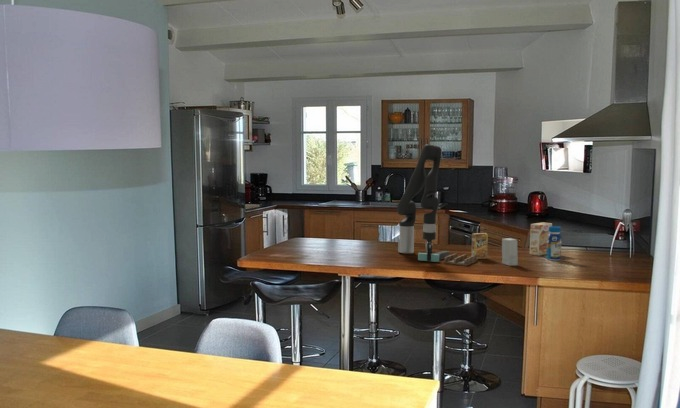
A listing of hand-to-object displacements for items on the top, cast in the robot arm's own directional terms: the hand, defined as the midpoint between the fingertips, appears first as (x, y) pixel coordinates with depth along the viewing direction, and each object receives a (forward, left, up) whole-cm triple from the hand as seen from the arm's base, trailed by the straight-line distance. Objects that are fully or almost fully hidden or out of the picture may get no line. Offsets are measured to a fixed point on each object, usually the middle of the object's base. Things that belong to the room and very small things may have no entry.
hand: (428, 259), depth 348 cm
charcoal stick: (+2, +14, -1) cm, 14 cm away
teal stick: (0, 0, 0) cm, 0 cm away
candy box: (+21, +27, -1) cm, 35 cm away
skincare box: (+42, +18, -1) cm, 46 cm away
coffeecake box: (+48, +65, -1) cm, 81 cm away
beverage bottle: (+60, +48, -1) cm, 77 cm away
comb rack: (+16, +9, -1) cm, 19 cm away
